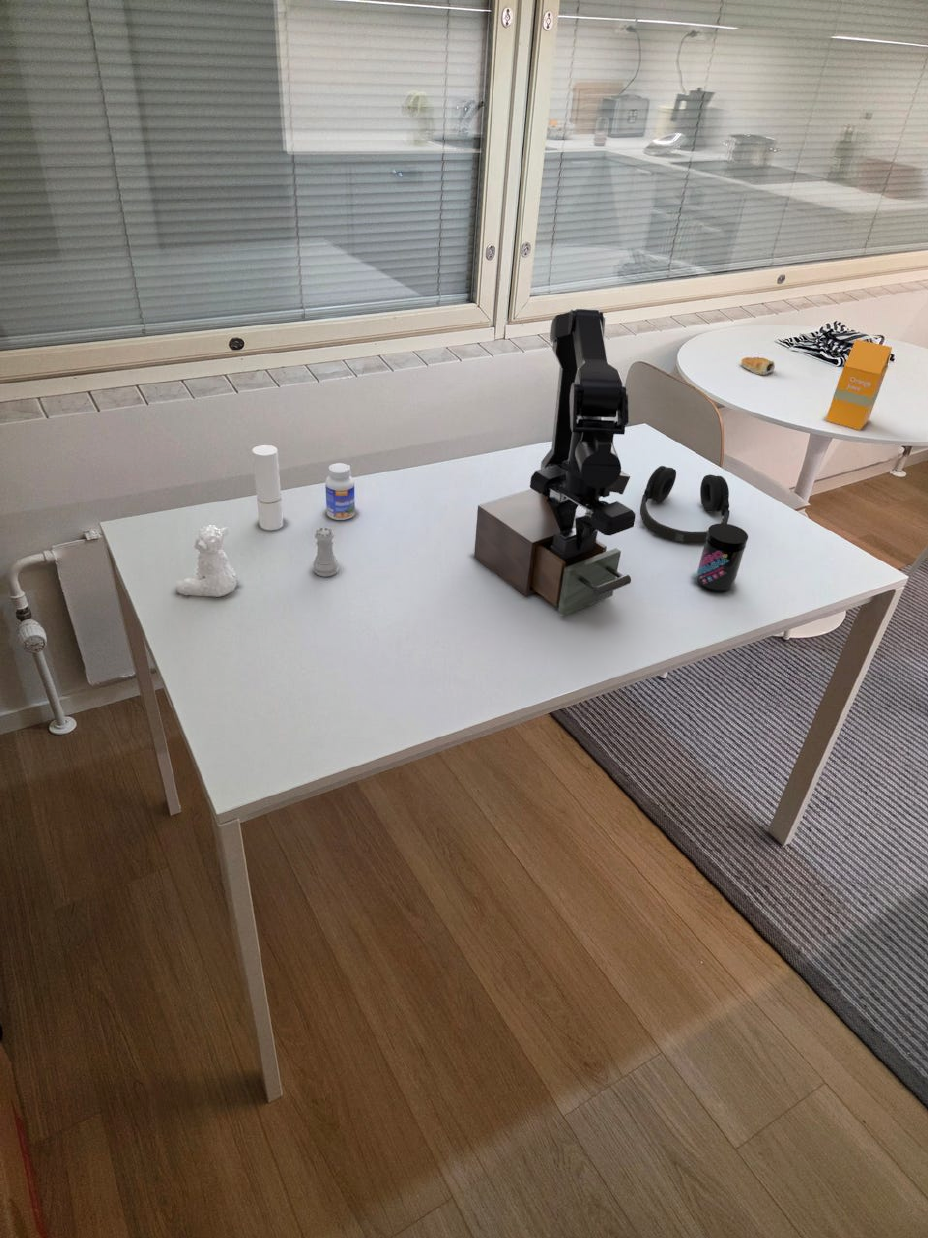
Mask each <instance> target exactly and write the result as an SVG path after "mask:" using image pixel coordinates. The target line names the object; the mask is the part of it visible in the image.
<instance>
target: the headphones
mask: <svg viewBox="0 0 928 1238" xmlns="http://www.w3.org/2000/svg"><path fill="white" fill-rule="evenodd" d="M676 477H677V471H676V470H675V469H674V468H672V467H667V466H665V465H660V466H658V467H657V468H656V469H655V470H654V471H653V472H652V474H651V475H650V477H649V478H648V480H647V483H646V486H645V489H644V490H643V491H644V492H643V495H642V496H641V502H640V506H639V516H640V520H641V523H642V524H643V525H644V527H645V528H646V529H647V530H648V531H649V532H651V533H652V534H654V535H655V536H657V537H660V538H663V539H664V540H668V541H672V542H675V543H680V544H687V545H689V544H690V545H693V544H695V545H697V544H698V545H703V544H705V540H706V535H707V532H708V530H705V531H687V530H681V529H677V528H672V527H670V526H667V525H665V524H663V523H660V522H658V521H657V520H655V519H654V518H653V516H651V515H650V513H649V511H648V508H647V502H648V500H651V501H653V502H655V503H657V504H661V503H663V502H664V501H665V500H666V499H667V498H668V496H669V495H670V493H671V492H672V490H673V487H674V484H675V482H676ZM728 485H729V484H728V483H727V481H726V479H725V477H724V476H722V475H715V474H710V473H709V474H706V475H704V476H703V478H702V479H701V482H700V488H699V495H700V503H701V505H702V507H703V510H704V511H706V512H709V513H714V512H720V515H721V517H723V518H722V521H721V522H720V523H723V524H728V521H729V518H730V510H729V508H730V502H729V498H730V497H729V496H730V490H729V486H728Z"/></svg>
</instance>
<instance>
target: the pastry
mask: <svg viewBox="0 0 928 1238" xmlns="http://www.w3.org/2000/svg"><path fill="white" fill-rule="evenodd" d="M740 363H741V366H742V367H743V368H744V369H746V370H748V371H749V372H751V373H754V374H756V375H759V376H766V375H768V374H770V373H772V372H774V370H775V368H776V367H775V362H774V360H770V359H768V358H765V357H759V356H754V357H751V356H750V357H747V356H746V357H744V358H741V362H740Z"/></svg>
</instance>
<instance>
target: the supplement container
mask: <svg viewBox="0 0 928 1238" xmlns="http://www.w3.org/2000/svg"><path fill="white" fill-rule="evenodd" d="M707 531H708V532H707V535H706V540H705V543H703V544H704V545H703V548H702V552H701V555H700V559H699V562H698V566H697V569H696V574H695V582H696V584H697V585H698V586H699V587H700V588H701V589H703V590H704V591H707V592H708V593H714V594H724V593H728V592H729V591H731V590H732V589H733V588H734V585H735V582H736V579H737V576H738V572H739V569H740V566H741V562H742V559H743V556H744V553H745V549H746V547H747V542H748V540H749V534H748V533H747V532H746V530H744V529H743V528H742V527H739V526H737V525H733V524H729V523H727V524H723V523H721V522H720V523H714V524H712V525H710V526H709V527H708V529H707Z"/></svg>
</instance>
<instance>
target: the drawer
mask: <svg viewBox="0 0 928 1238" xmlns="http://www.w3.org/2000/svg"><path fill="white" fill-rule="evenodd" d="M552 544H553V540H550V541H547V542H544V543H541V544H538V545H536V546H535V552H534V560H533V568H532V576H531V583H530V587H531V588H533V589H534V590H535V591H537V592H536V593H538V594H539V595H541V596H542V597H543V598H545V600H547V601H548V602H550V603H551V604H552V605H553V606H556V607H557V606H558V608H557V613H558V614H559V615H560V616H561V617H564V616H566V615H569V614H572V613H575V612H576V611H579V610H581V609H584V608H585V607H588V606H590V605H593V604H595V603H599V602H600V601H602V600H605V599H607V598H609V597H612V596H613V594H614V591H615V590H617V589H620V588H623V587H625V586H627V585H630V584H632V583H631V582H632V578H631V576H630V575H629V574H627V573H625V574H622V573H620V572H619V571H618V569H619V563H620V558H621V553H622V550H620V549H619V548H612V549H610V550H607V549H608V546H607V545H605V544H603V543H602V542H600V541H599V540H597V539H596V547H595V548H594V549H592V550H589V551H586V552H584V553H581V554H578V555H576V556H573V557H570V558H568V559H565V560H562V559H560V558H559V557H557V556H556V555H555V554H553V553H552V552H550V547H551V546H552Z"/></svg>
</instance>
